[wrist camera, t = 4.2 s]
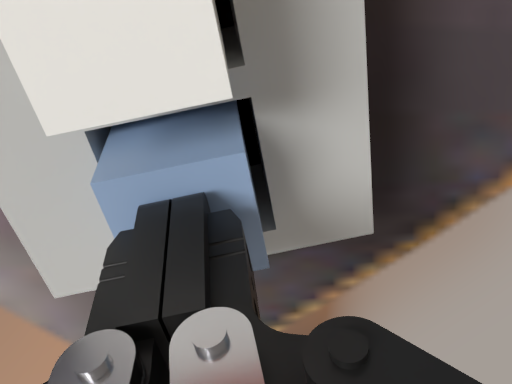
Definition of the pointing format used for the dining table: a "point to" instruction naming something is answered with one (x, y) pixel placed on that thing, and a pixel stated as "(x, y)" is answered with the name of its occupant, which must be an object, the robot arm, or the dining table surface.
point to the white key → (114, 58)
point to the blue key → (180, 169)
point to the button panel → (242, 85)
